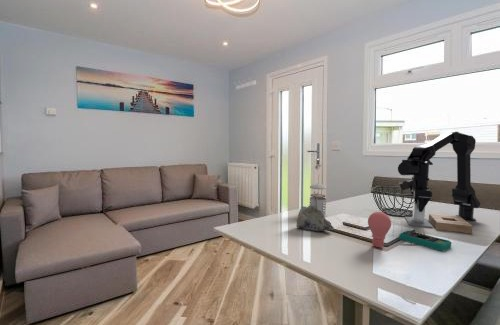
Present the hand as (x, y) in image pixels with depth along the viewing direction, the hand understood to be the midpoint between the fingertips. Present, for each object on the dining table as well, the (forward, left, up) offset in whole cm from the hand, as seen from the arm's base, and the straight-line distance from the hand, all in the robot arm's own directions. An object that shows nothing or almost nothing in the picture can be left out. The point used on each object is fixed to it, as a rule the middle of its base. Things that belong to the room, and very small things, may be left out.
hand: (418, 209), depth 123 cm
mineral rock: (+33, -41, -6) cm, 53 cm away
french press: (+8, -44, -6) cm, 45 cm away
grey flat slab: (0, 0, -6) cm, 6 cm away
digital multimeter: (+30, -2, -7) cm, 30 cm away
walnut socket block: (0, +11, -6) cm, 13 cm away
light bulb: (+41, -18, -6) cm, 45 cm away
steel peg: (0, 0, -5) cm, 5 cm away
